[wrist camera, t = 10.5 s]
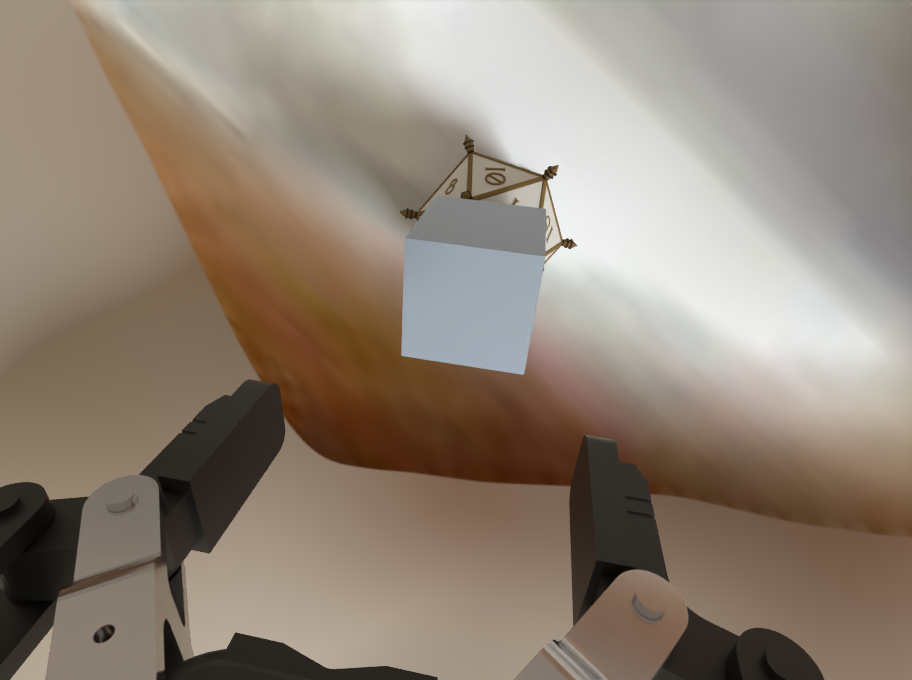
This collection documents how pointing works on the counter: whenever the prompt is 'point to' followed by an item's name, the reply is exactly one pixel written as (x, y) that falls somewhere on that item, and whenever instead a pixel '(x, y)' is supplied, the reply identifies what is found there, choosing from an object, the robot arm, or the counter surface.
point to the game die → (501, 190)
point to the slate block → (473, 283)
